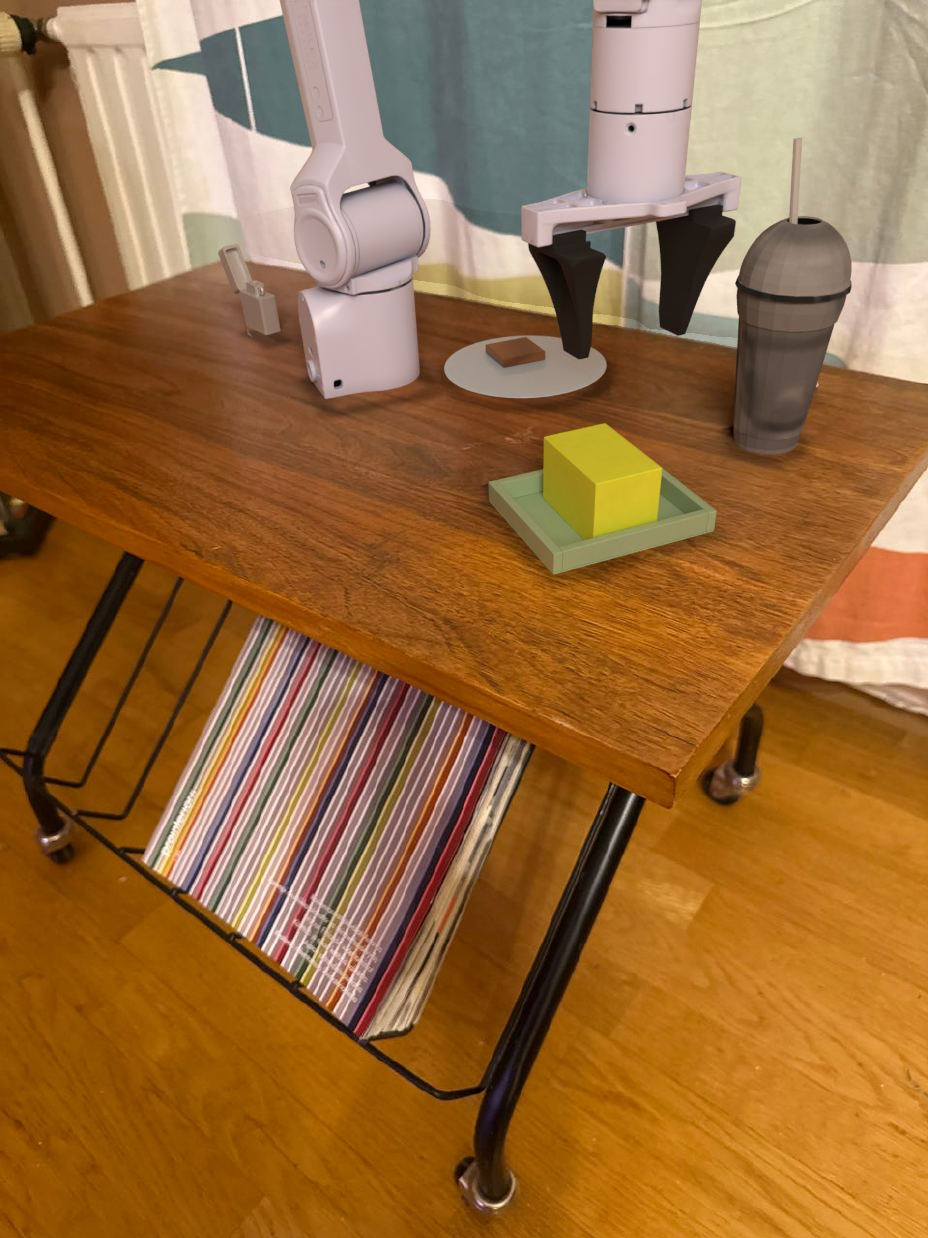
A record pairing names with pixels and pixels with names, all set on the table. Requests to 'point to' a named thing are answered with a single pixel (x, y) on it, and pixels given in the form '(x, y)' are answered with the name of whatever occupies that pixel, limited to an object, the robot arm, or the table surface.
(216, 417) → the table surface
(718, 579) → the table surface
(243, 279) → the lighter
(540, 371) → the plate
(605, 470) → the sponge
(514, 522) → the sponge dish
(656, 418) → the table surface
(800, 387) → the beverage cup
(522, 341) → the block
